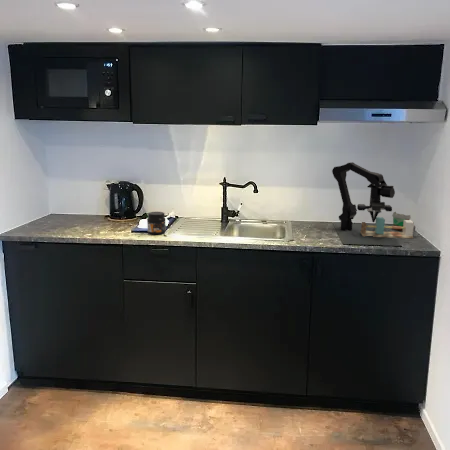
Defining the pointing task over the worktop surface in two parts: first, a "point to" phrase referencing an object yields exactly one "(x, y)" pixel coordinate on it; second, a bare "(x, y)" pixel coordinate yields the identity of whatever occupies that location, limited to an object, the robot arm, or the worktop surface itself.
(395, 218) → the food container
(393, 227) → the fibre cord
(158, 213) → the supplement container
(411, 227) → the connector block
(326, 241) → the worktop surface
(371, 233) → the comb board
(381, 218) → the sleeve
